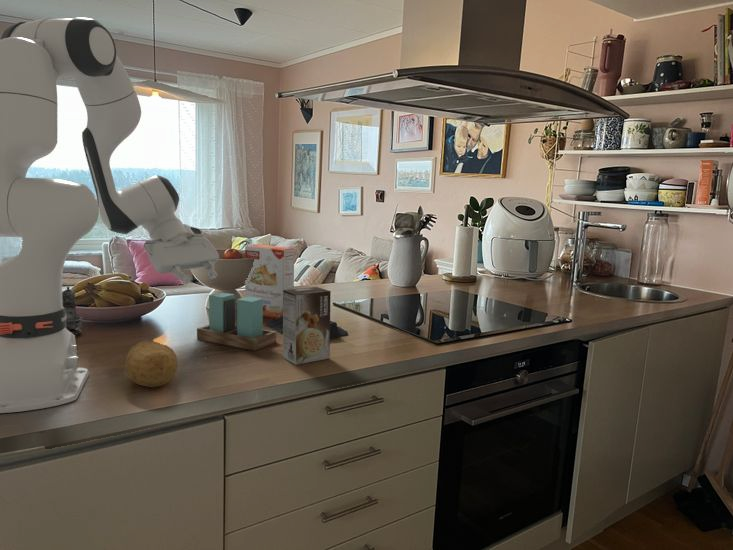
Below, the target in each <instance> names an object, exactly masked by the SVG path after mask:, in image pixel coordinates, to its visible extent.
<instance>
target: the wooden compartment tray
mask: <svg viewBox="0 0 733 550" xmlns="http://www.w3.org/2000/svg"><path fill="white" fill-rule="evenodd" d="M196 339H197V340H199V341H200V340H201V341H206V342H211V343H215V344H221V345H224V346H231V347H235V348H238V349H239V348H240V349H245V350H250V351H254V352H255V351H258V350H261V349H262V348H265V347H268V346H270V345H273V344H274V343H276V342H277V331H275V330H269V329H265V328H263V335H262V336H260V337H257V338H250V337H244V336H239V335H236V323H235V330H232V331H229V332H227V333H223V332H218V331H213V330H209V324H207V325H204V326H201V327H197V328H196Z"/></svg>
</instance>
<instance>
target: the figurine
mask: <svg viewBox="0 0 733 550" xmlns="http://www.w3.org/2000/svg"><path fill="white" fill-rule="evenodd" d="M75 293H76V292H75V291H74V290H72V289H71V288H70V286H67V287H66V289H65V290H62V304H63V307H64V308H65V312H66V317H67V318H66V329H67V330H68V331H69V332H71V333H72V334H76V333H80V332H81V333H82V332H83V331H82V330H81V329H80V328H79V327H80V326H81V324H82V320H83V316H79V315H78V314H77V308H76V307H77V305H78V303H77V302H76V294H75ZM81 333H80V334H81ZM76 335H77V334H76Z"/></svg>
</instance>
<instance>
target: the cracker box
mask: <svg viewBox="0 0 733 550" xmlns="http://www.w3.org/2000/svg"><path fill="white" fill-rule="evenodd" d="M244 250H245V251H244V259H245V258H253V259H254V262H253V267H252V268H251V271H250V273H249V275H248V278H246V279H247V280H245V279H244V298H245V297H248V296H249V297H255V298H262V299H263V317H266V318H271V319H277V318H280V317H281V316H283V290H289V289H295V287H294V286H295V285H294V283H295V281H294V280H295V248H293V247H286V246H277V245H266V244H259V243H255V244H247V245H245V246H244ZM260 264H261V266H260ZM258 270H259V271H258ZM250 280H251V281H250ZM248 282H249V283H248ZM245 284H246V285H245Z"/></svg>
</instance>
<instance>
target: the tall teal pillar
mask: <svg viewBox="0 0 733 550" xmlns="http://www.w3.org/2000/svg"><path fill="white" fill-rule="evenodd" d="M235 324H236V298H235V293H228V292H227V293H226V292H217V293H213V294H209V295H208V325H209V330H213V331H218V332H223V333H227V332H229V331H232V330H235Z"/></svg>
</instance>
